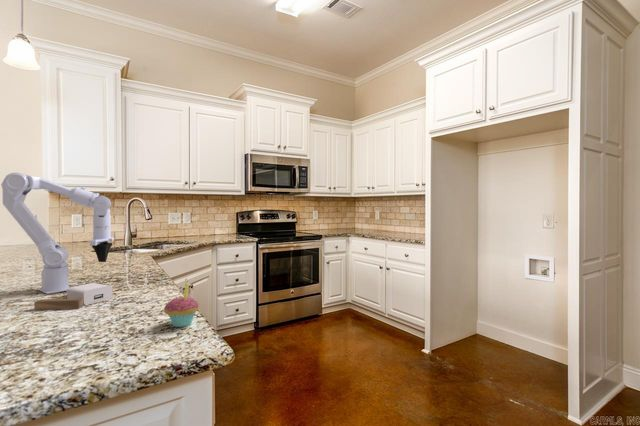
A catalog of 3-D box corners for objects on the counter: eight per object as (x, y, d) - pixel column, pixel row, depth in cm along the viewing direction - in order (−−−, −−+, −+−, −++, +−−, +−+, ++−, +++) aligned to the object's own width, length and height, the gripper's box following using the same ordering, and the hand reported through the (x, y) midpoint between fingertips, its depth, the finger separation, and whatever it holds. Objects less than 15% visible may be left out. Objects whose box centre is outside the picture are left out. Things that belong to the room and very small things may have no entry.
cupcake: (205, 320, 93) (205, 277, 92) (183, 331, 85) (183, 284, 84) (180, 317, 96) (180, 275, 95) (156, 327, 88) (156, 282, 87)
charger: (85, 293, 120) (112, 298, 114) (56, 300, 112) (84, 306, 106) (84, 280, 120) (112, 284, 114) (55, 286, 112) (83, 291, 106)
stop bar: (39, 307, 103) (39, 299, 103) (82, 306, 105) (82, 298, 105) (34, 310, 101) (34, 301, 101) (78, 308, 103) (78, 300, 103)
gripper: (104, 228, 123) (104, 265, 124) (121, 225, 138) (121, 258, 138) (83, 228, 122) (83, 265, 123) (102, 225, 136) (102, 258, 137)
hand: (102, 261), depth 130 cm, fingers closed
